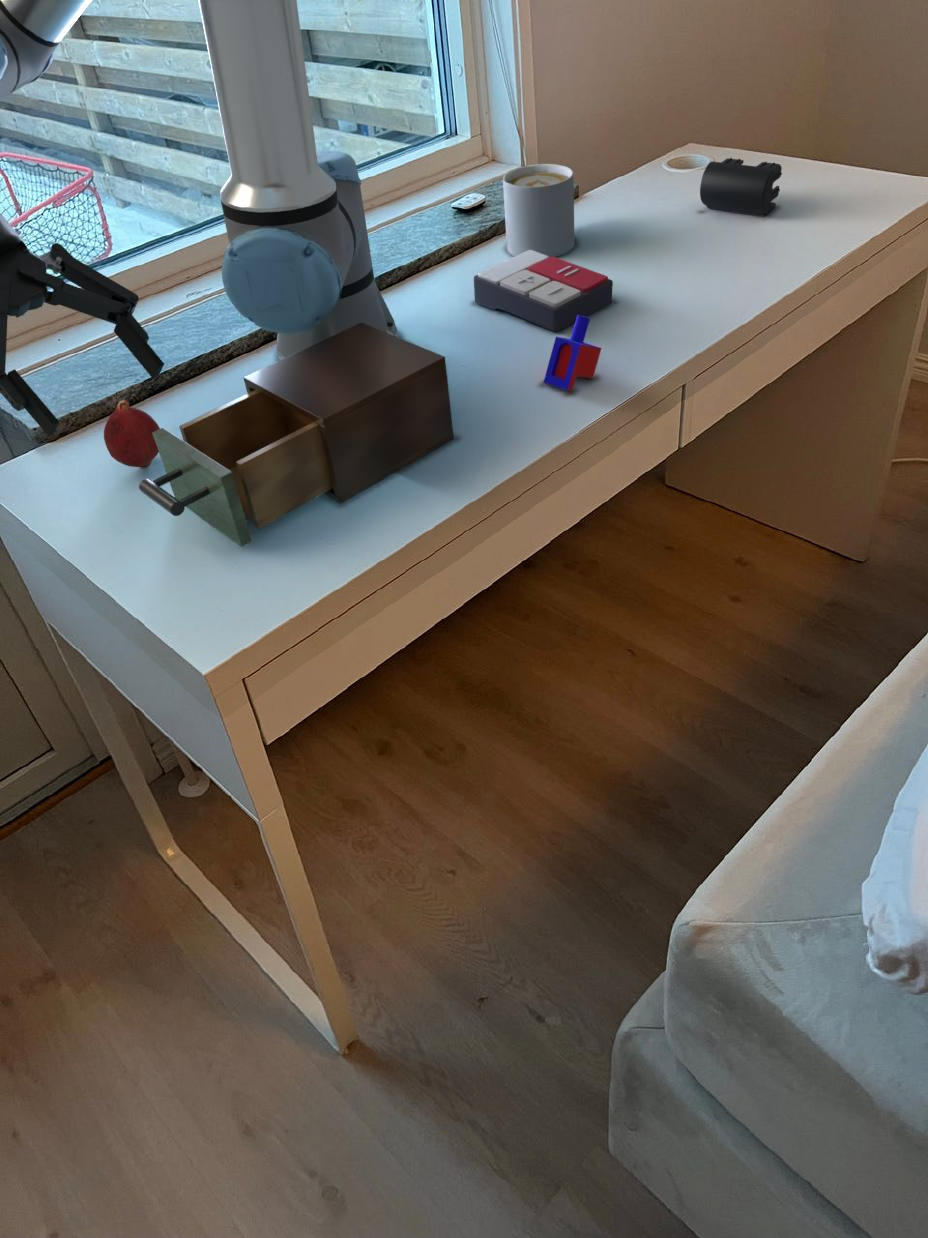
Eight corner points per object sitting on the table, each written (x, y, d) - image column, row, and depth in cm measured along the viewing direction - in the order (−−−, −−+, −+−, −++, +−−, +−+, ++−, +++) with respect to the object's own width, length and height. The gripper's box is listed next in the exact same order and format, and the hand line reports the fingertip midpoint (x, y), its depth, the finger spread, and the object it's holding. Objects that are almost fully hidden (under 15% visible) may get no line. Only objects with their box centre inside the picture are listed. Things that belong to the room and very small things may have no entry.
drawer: (204, 568, 89) (179, 498, 83) (138, 518, 96) (112, 450, 91) (361, 480, 97) (348, 411, 92) (290, 439, 105) (274, 374, 99)
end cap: (697, 214, 146) (700, 167, 141) (717, 199, 150) (721, 152, 145) (760, 223, 141) (766, 174, 136) (780, 207, 145) (785, 159, 140)
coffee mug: (546, 264, 137) (544, 191, 130) (493, 251, 142) (488, 180, 135) (601, 232, 144) (601, 161, 137) (548, 221, 149) (546, 153, 142)
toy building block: (588, 392, 111) (608, 323, 108) (567, 391, 108) (587, 318, 105) (564, 384, 113) (584, 315, 110) (543, 382, 110) (562, 311, 107)
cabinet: (340, 504, 96) (322, 419, 90) (264, 457, 104) (242, 377, 98) (454, 439, 103) (445, 356, 97) (374, 400, 111) (361, 321, 105)
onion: (139, 487, 102) (114, 421, 96) (106, 472, 105) (80, 407, 99) (181, 461, 105) (159, 395, 100) (148, 447, 108) (125, 383, 103)
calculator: (556, 304, 118) (471, 270, 126) (555, 337, 120) (473, 302, 129) (614, 274, 123) (529, 243, 131) (613, 306, 126) (530, 274, 134)
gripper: (-149, 255, 88) (9, 438, 90) (76, 170, 102) (207, 332, 105) (-147, 300, 94) (1, 471, 97) (64, 215, 108) (189, 366, 111)
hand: (108, 399), depth 101 cm, fingers open, 13 cm apart
